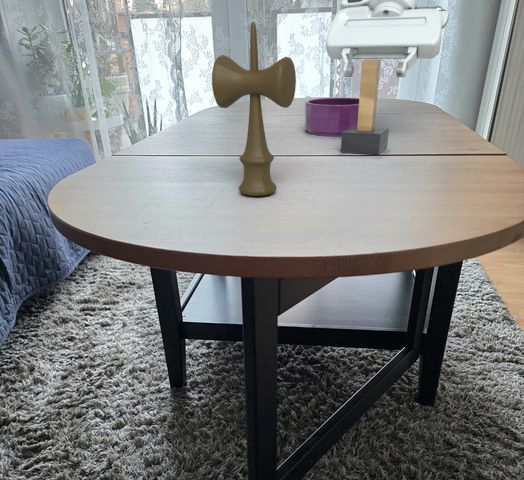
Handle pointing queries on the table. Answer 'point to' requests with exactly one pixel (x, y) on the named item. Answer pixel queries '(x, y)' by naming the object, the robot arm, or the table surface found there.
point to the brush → (366, 116)
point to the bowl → (331, 115)
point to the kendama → (254, 108)
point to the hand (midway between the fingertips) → (373, 74)
